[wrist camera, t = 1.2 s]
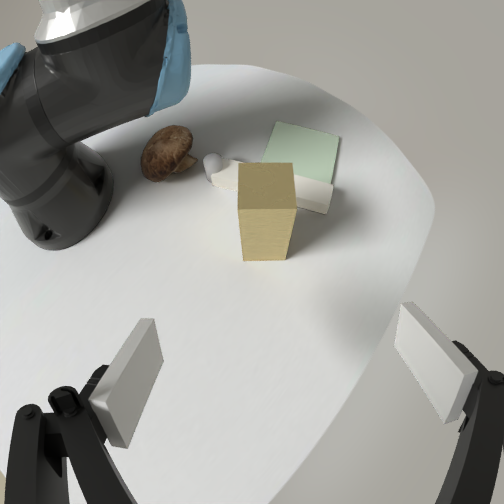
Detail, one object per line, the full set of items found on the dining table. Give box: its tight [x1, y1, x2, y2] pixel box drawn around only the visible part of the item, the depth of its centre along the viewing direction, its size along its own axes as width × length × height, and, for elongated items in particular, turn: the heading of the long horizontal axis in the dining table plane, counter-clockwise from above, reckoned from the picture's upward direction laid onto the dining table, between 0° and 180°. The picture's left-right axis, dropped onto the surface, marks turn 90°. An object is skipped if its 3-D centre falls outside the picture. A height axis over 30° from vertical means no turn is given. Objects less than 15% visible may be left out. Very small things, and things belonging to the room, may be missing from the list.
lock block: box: [238, 163, 297, 261], centre depth 30 cm, size 4×4×11 cm
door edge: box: [203, 153, 334, 214], centre depth 36 cm, size 15×3×3 cm, turn 73°
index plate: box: [261, 121, 339, 184], centre depth 39 cm, size 9×9×1 cm
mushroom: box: [141, 125, 198, 182], centre depth 37 cm, size 8×8×6 cm
